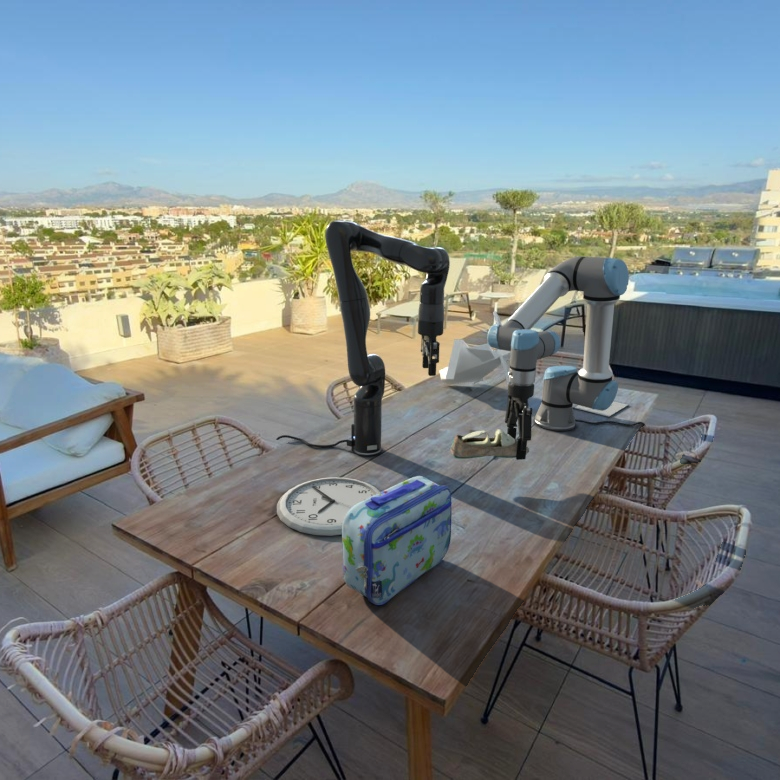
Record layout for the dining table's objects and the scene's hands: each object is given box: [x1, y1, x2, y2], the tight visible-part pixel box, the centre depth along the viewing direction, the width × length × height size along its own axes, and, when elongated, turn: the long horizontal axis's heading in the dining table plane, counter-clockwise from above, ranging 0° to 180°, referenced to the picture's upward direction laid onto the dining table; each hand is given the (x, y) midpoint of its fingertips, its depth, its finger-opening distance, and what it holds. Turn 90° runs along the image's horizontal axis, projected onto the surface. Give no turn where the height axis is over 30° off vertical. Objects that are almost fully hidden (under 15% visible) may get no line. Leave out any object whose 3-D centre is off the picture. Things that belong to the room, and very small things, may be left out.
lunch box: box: [341, 475, 453, 606], centre depth 111 cm, size 26×11×21 cm, turn 134°
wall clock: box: [276, 476, 382, 537], centre depth 142 cm, size 30×2×30 cm
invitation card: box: [573, 400, 629, 418], centre depth 226 cm, size 21×1×15 cm
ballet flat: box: [450, 428, 530, 460], centre depth 159 cm, size 8×25×8 cm, turn 98°
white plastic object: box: [438, 310, 511, 386], centre depth 245 cm, size 37×45×31 cm
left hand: (428, 371), depth 158 cm, fingers open, 8 cm apart
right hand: (515, 452), depth 161 cm, fingers closed on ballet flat, 8 cm apart
